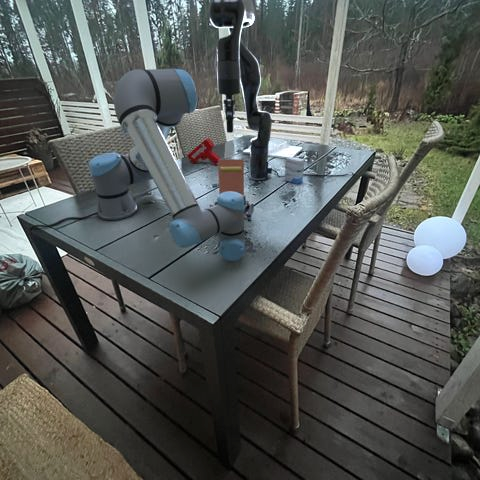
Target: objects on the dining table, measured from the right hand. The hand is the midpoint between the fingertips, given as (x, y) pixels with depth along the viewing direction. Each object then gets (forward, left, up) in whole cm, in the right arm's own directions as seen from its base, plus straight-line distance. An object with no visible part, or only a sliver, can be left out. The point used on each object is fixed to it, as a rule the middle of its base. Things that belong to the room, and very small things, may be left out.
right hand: (230, 129), depth 97 cm
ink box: (-34, -32, -32) cm, 57 cm away
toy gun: (+15, -68, -32) cm, 76 cm away
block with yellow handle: (0, +4, -17) cm, 17 cm away
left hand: (0, +2, -26) cm, 26 cm away
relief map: (-33, -92, -32) cm, 103 cm away
